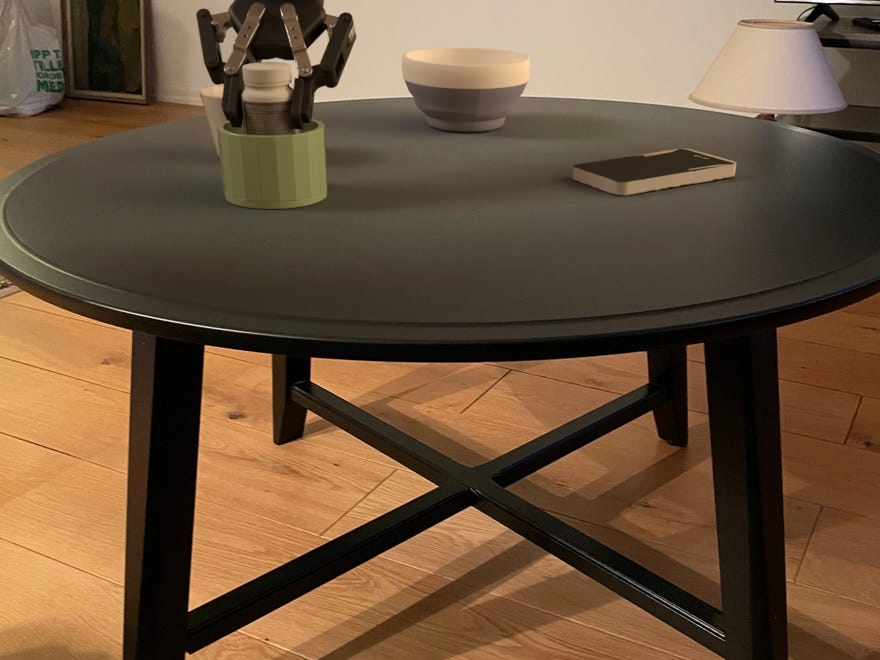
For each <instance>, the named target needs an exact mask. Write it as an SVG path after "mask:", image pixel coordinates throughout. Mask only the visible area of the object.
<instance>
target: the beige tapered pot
mask: <svg viewBox="0 0 880 660" xmlns="http://www.w3.org/2000/svg"><path fill="white" fill-rule="evenodd" d="M223 87H224V84H220V85H216V84H214V85H210V86H206V87H204V88H201V89H200V90H199V95H200V98H201V102H202V105H203V110H204V112H205V116H206V119H207V124H208V128H209V130H210V134H211V137H212V141H213V145H214V148H215V151H216V154H217V156H218V158H220V154H219V144H218V134H217V126H218V125H219V124H220V123H223V122H225V121H227V119H226V117H225V115H224V112H223V110H222V107H221V103H222V96H223ZM246 87H247V85H246V86H245V88H246ZM245 88H244V89H245Z"/></svg>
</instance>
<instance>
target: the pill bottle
mask: <svg viewBox="0 0 880 660" xmlns="http://www.w3.org/2000/svg"><path fill="white" fill-rule="evenodd" d="M242 70H243V80H244V84H245V85H247V87H246V88H245V89H244V90H243V91H242V93H241V106H242V115H243V125H244V134H245V135H258V136H275V135H290V134H297V133H300V132H299V130H298V129H295V128H294V125H293V122H292V119H291V108H292V99H293V89H294V87H293V88H292V87H291V86H290V84H292V79H293V77H292V67H291V65H290V63H287V62H279V61H277V62H276V61H267V62H266V61H265V62H264V61H263V62H262V61H261V62H260V63H251V64H246V65H244V66H243V67H242Z"/></svg>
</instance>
